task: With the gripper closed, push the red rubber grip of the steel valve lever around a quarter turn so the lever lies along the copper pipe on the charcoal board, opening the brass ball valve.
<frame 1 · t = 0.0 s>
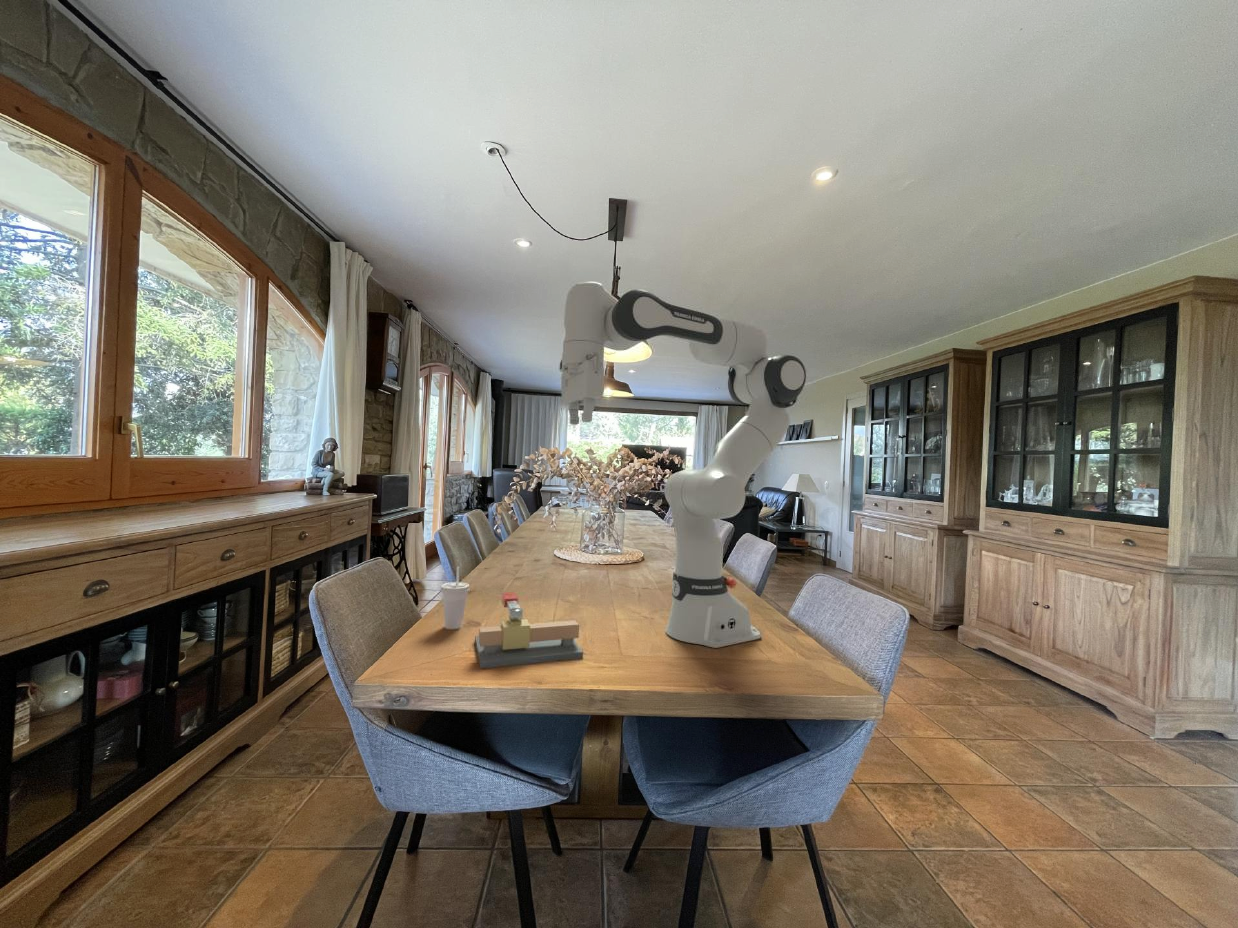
hand: (580, 423, 106), 48 cm above the table, tool pointing down, fingers open, 8 cm apart
lever: (512, 605, 104), point 8 cm above the table, hinge at 0.0°
smoothie: (453, 627, 114), on the table
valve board: (527, 649, 103), on the table
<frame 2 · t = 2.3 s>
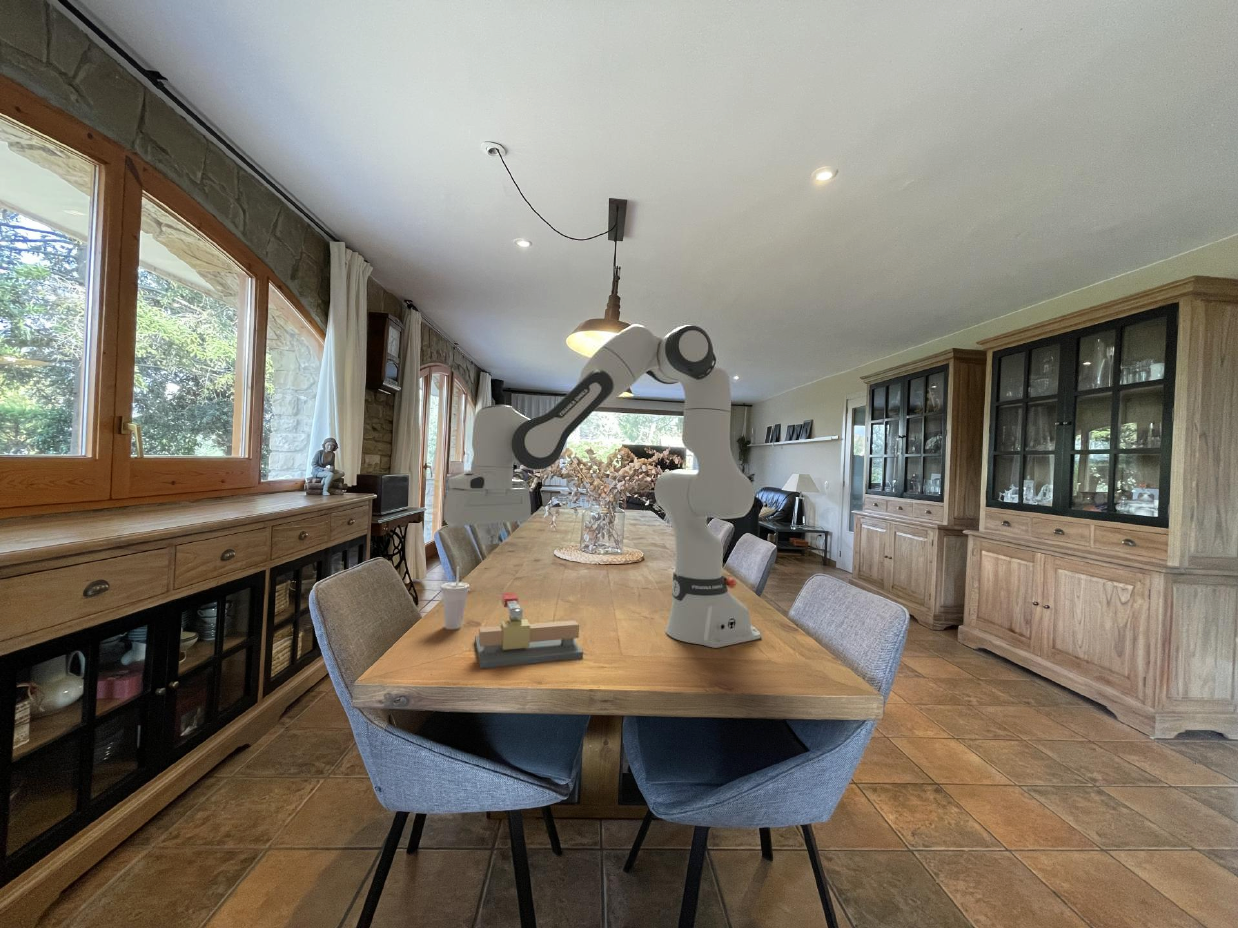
hand: (489, 543, 106), 21 cm above the table, tool pointing down, fingers closed
nothing on the table moved.
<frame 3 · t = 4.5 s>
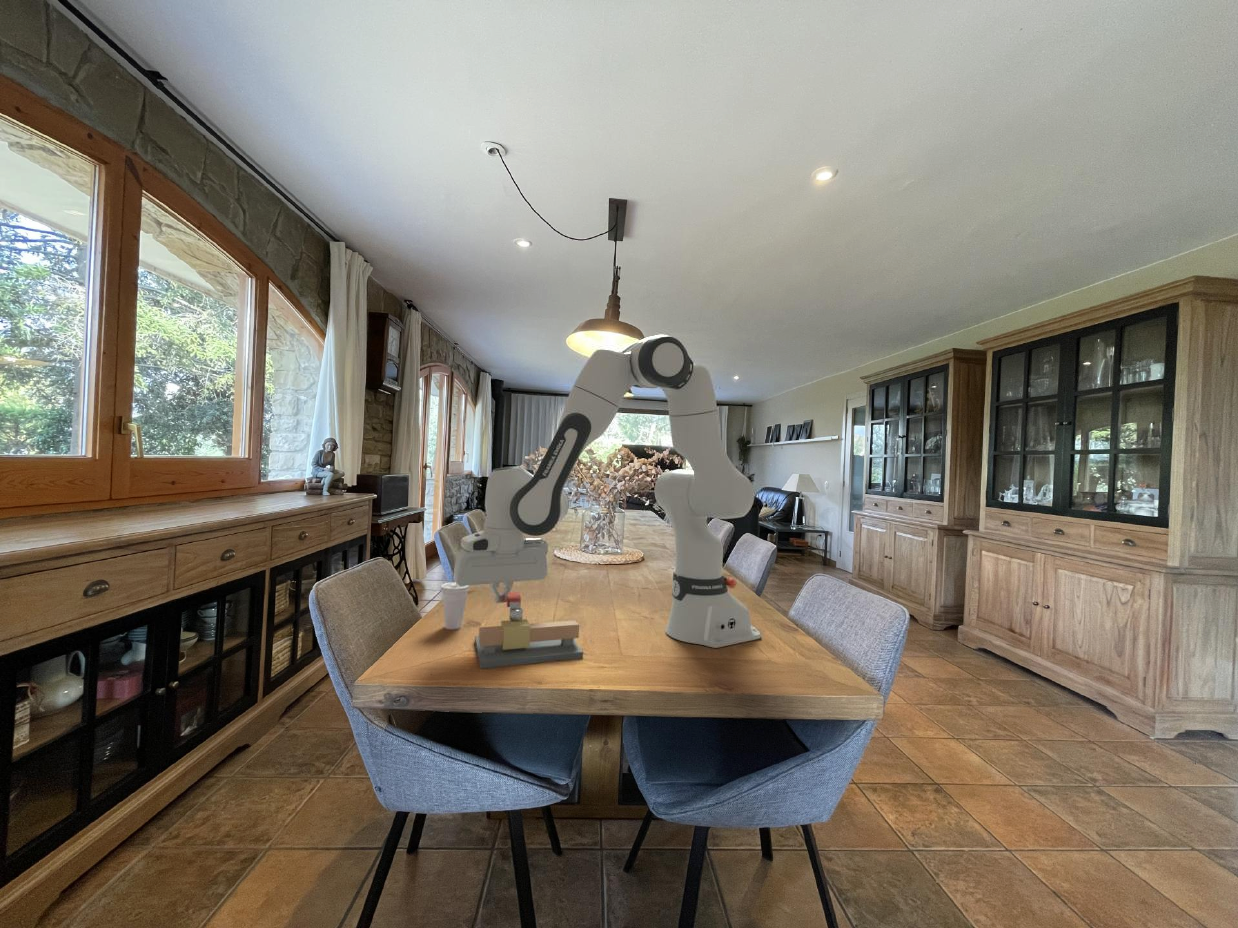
hand: (500, 602, 108), 8 cm above the table, tool pointing down, fingers closed
lever: (514, 605, 105), point 8 cm above the table, hinge at 5.2°, touching gripper
everything else where it was.
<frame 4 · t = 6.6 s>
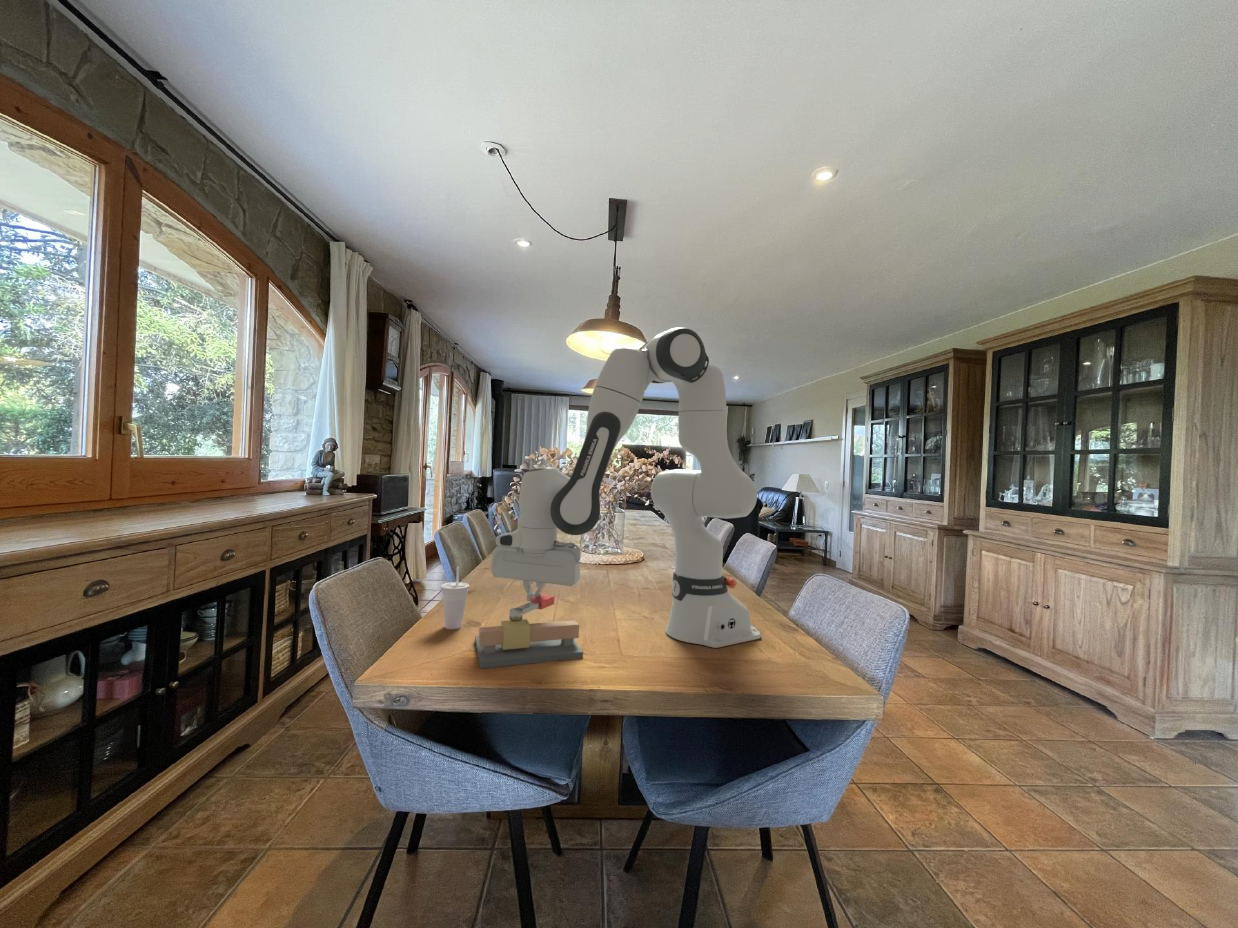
hand: (533, 600, 110), 8 cm above the table, tool pointing down, fingers closed
lever: (531, 606, 104), point 8 cm above the table, hinge at 46.9°, touching gripper
everything else where it was.
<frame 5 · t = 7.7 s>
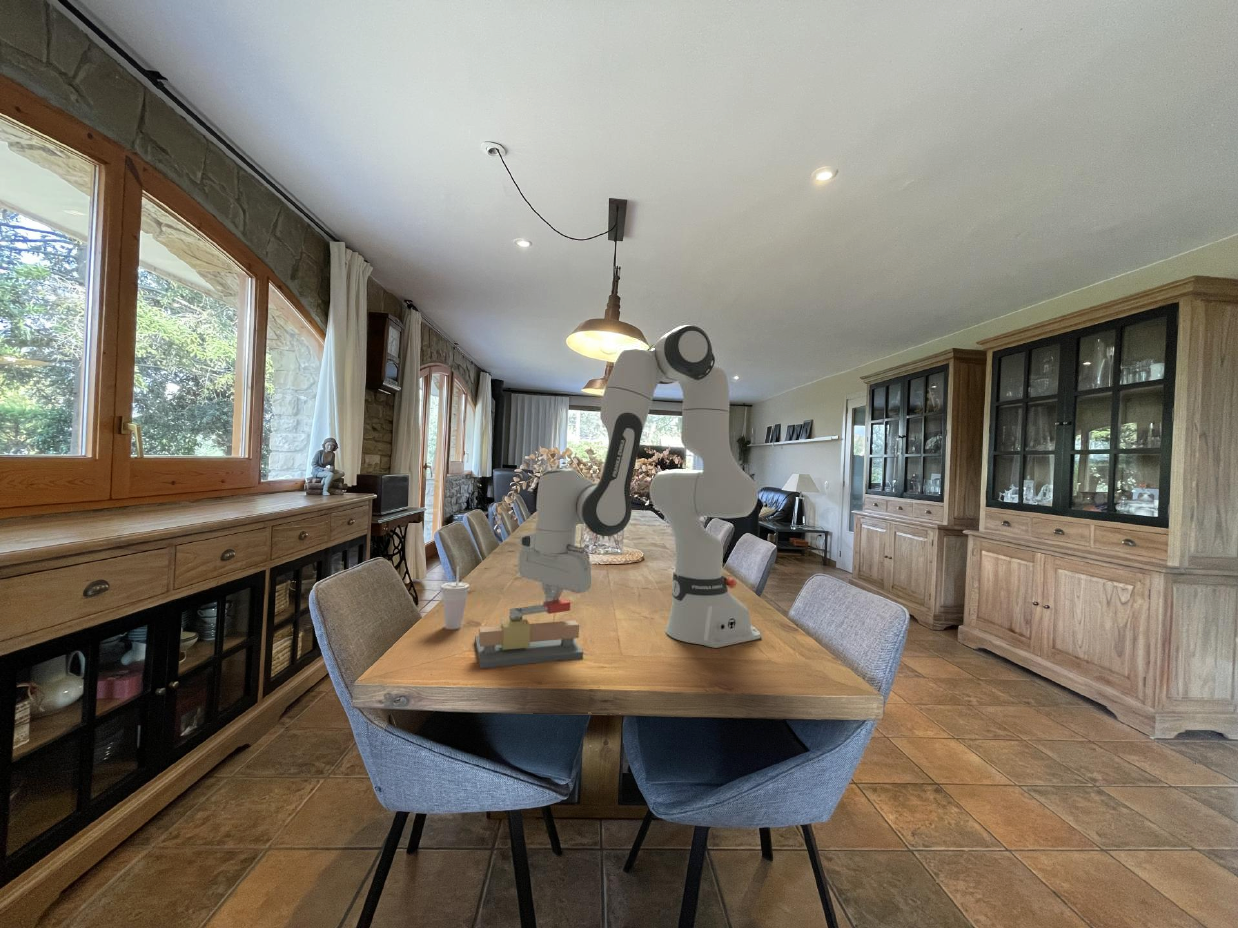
hand: (551, 604, 107), 8 cm above the table, tool pointing down, fingers closed
lever: (539, 609, 103), point 8 cm above the table, hinge at 75.1°, touching gripper
everything else where it was.
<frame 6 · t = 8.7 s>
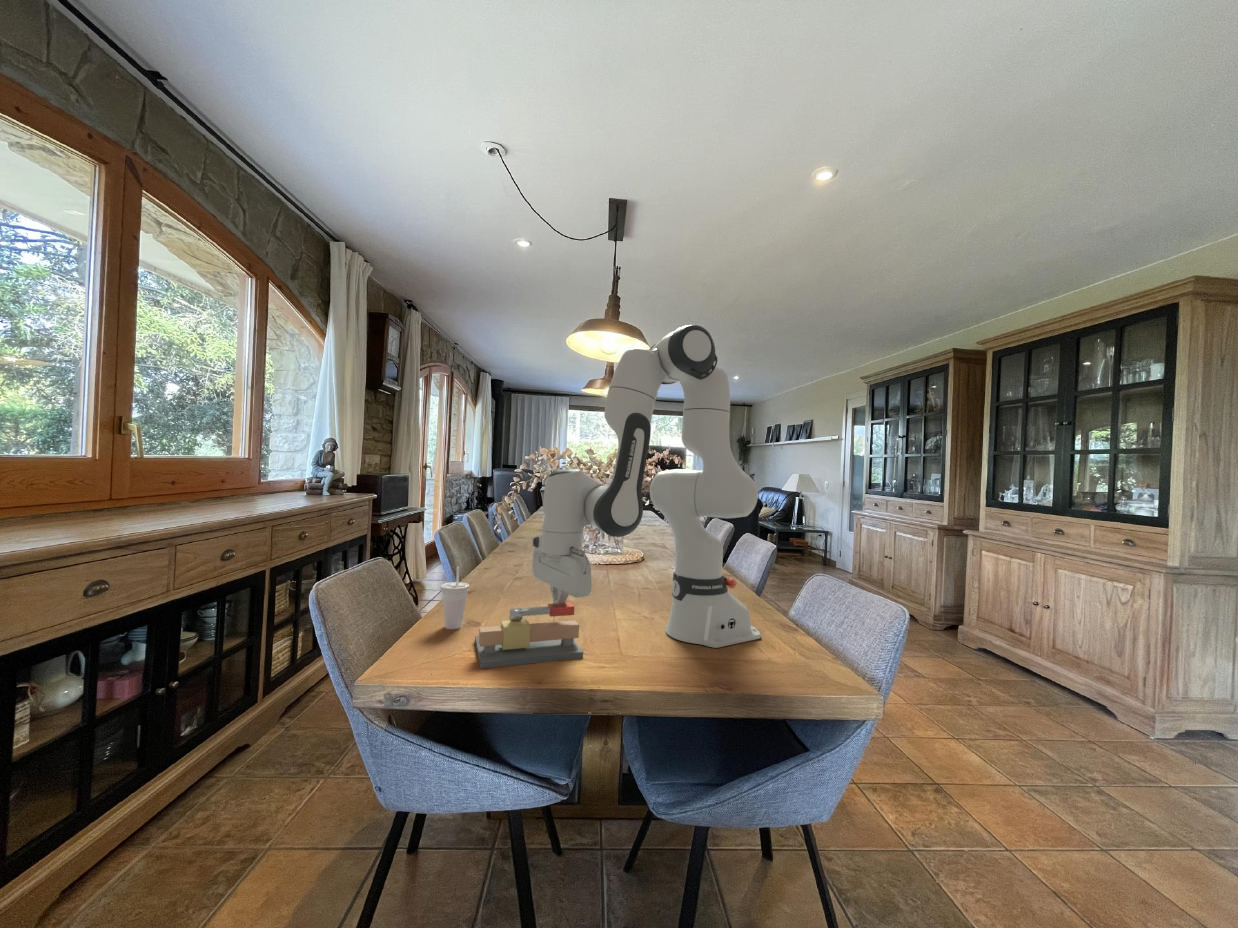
hand: (559, 607, 106), 8 cm above the table, tool pointing down, fingers closed
lever: (541, 611, 101), point 8 cm above the table, hinge at 90.3°, touching gripper
everything else where it was.
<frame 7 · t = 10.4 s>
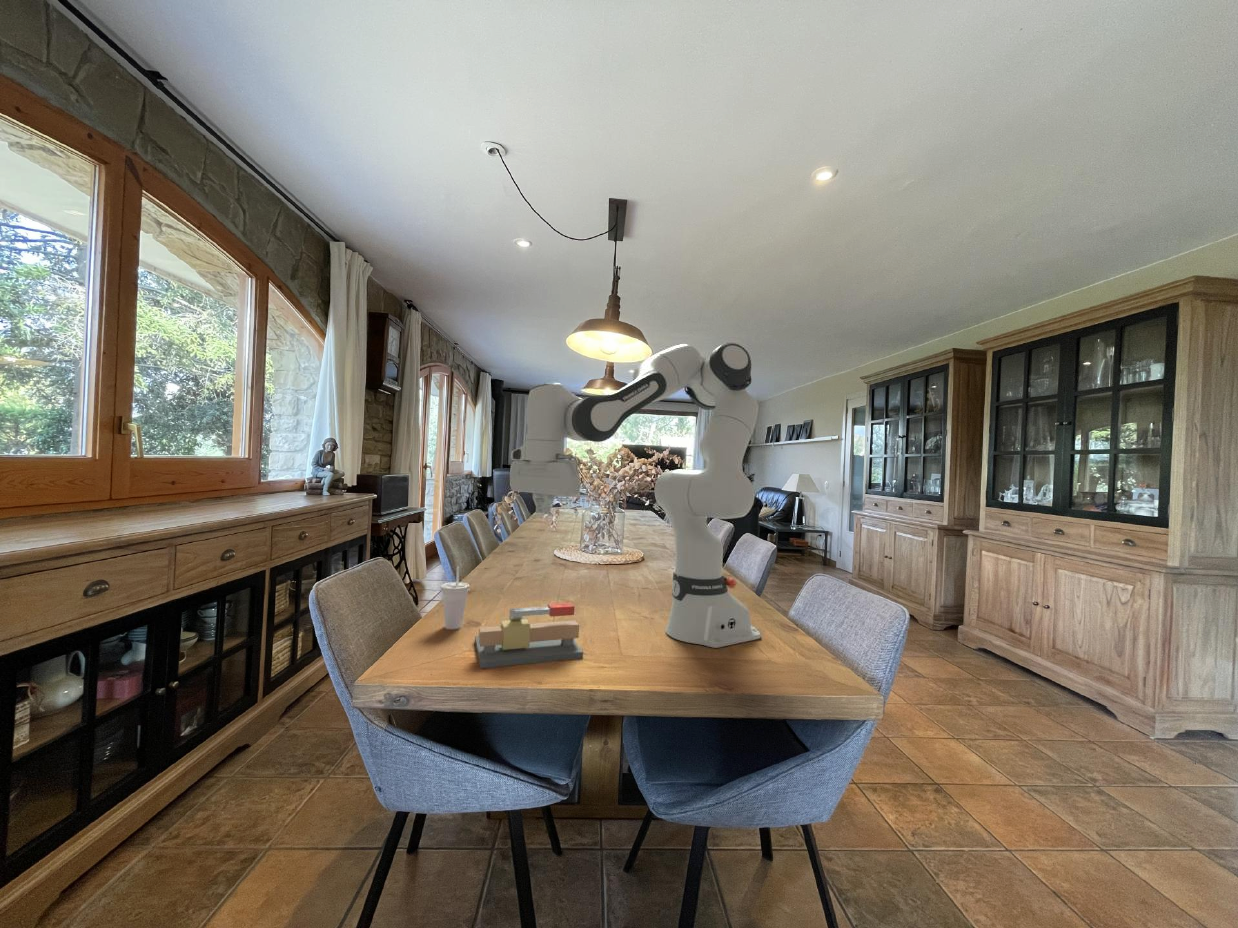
hand: (542, 513, 113), 27 cm above the table, tool pointing down, fingers closed
lever: (541, 611, 101), point 8 cm above the table, hinge at 90.3°
everything else where it was.
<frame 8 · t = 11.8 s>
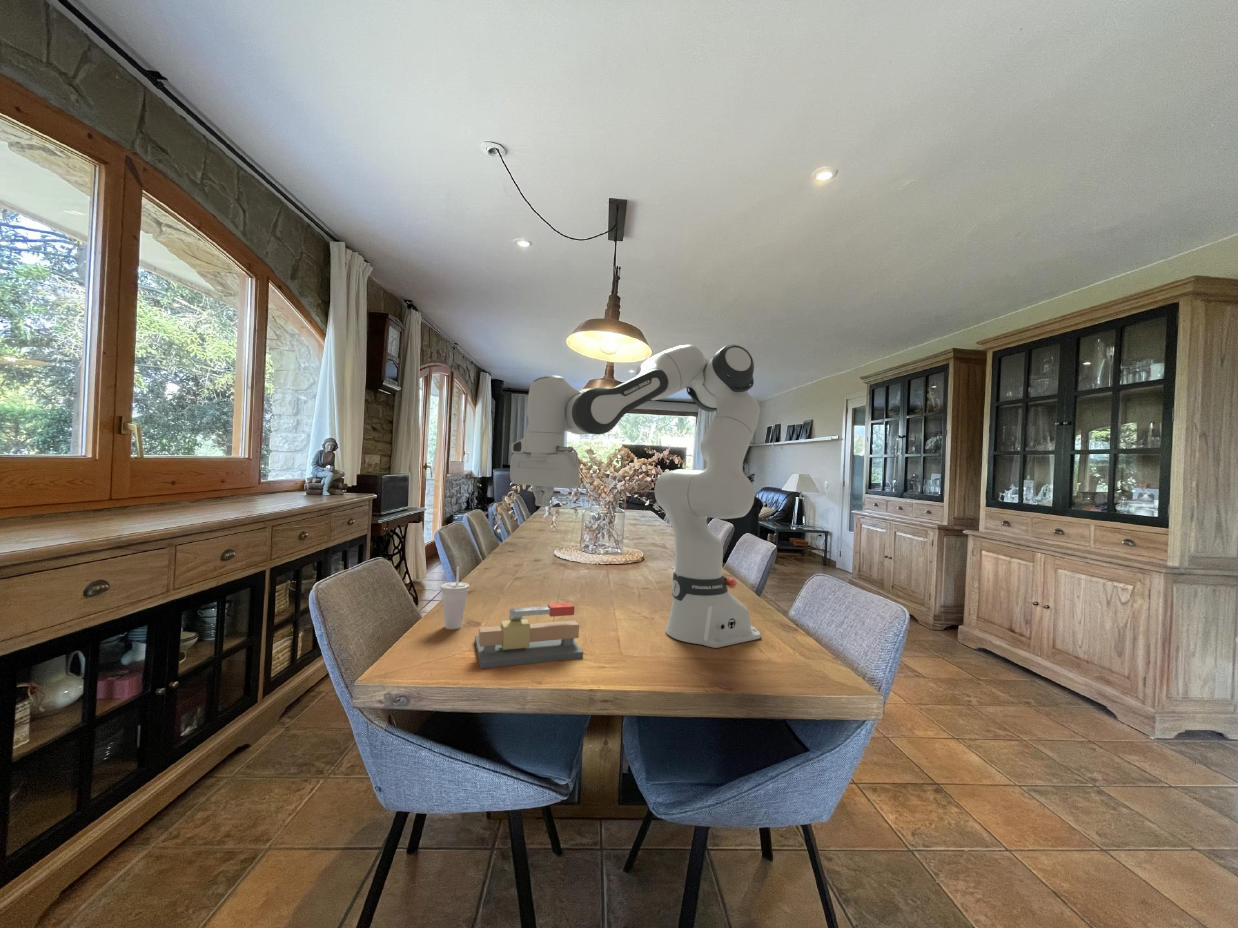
hand: (542, 506, 113), 29 cm above the table, tool pointing down, fingers closed
nothing on the table moved.
at the end: lever at +90° (first picture: +0°); smoothie moved 0.2 cm from its start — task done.
